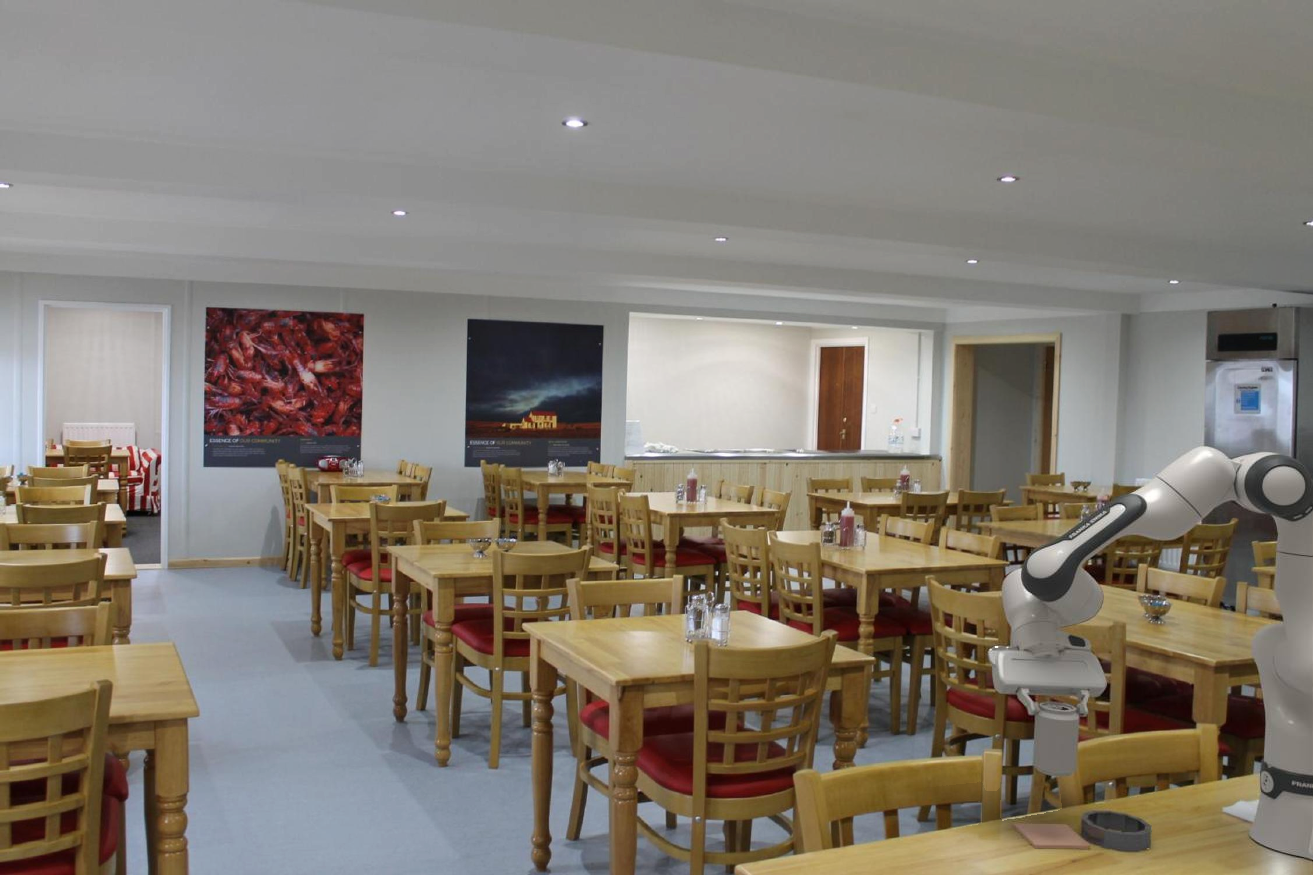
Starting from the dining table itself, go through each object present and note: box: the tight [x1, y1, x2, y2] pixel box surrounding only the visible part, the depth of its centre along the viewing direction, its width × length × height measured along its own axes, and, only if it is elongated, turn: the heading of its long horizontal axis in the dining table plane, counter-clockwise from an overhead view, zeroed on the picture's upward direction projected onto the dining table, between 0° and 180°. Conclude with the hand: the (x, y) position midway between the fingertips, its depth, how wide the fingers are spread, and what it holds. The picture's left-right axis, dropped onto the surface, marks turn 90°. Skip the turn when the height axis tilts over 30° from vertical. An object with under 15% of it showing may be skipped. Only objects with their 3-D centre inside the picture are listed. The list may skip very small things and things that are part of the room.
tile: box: [1012, 822, 1092, 850], centre depth 202 cm, size 10×10×1 cm
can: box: [1032, 700, 1080, 778], centre depth 202 cm, size 8×8×12 cm
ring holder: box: [1080, 810, 1152, 852], centre depth 203 cm, size 12×12×3 cm
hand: (1058, 714), depth 201 cm, fingers closed on can, 7 cm apart
